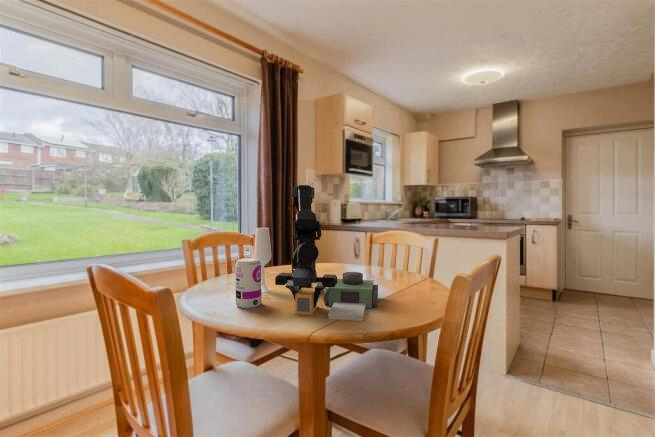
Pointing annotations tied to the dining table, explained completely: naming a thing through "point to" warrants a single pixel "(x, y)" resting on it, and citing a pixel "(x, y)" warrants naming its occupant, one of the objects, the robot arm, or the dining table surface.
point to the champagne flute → (263, 252)
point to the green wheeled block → (351, 297)
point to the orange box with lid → (305, 301)
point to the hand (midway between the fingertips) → (306, 307)
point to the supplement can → (248, 282)
